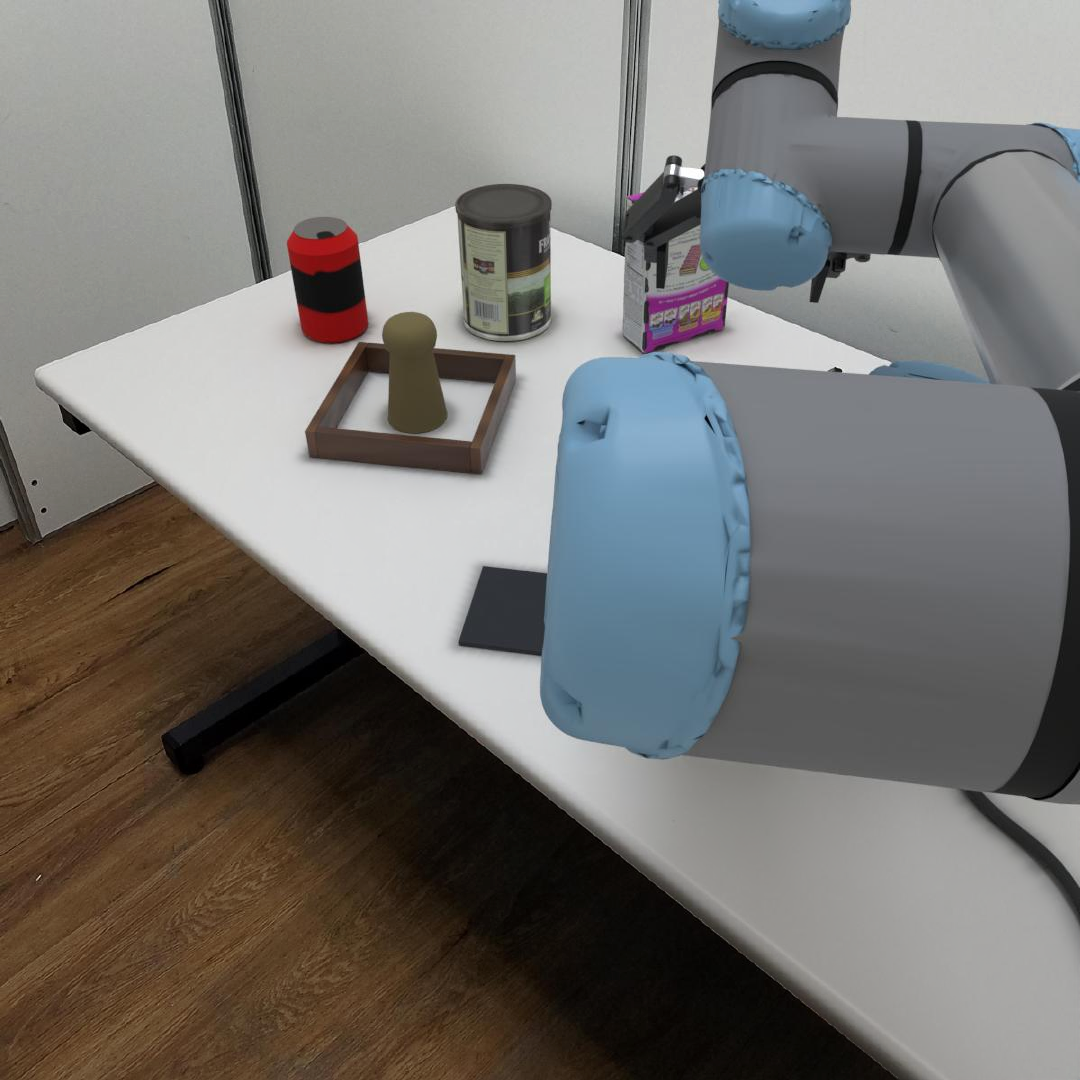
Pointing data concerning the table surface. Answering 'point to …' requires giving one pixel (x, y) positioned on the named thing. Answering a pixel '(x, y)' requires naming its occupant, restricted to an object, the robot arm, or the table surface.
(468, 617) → the mat
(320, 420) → the wooden frame
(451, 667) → the table surface
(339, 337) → the soda can
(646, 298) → the candy bar box
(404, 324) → the olive pawn
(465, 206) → the coffee can
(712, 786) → the table surface
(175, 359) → the table surface
